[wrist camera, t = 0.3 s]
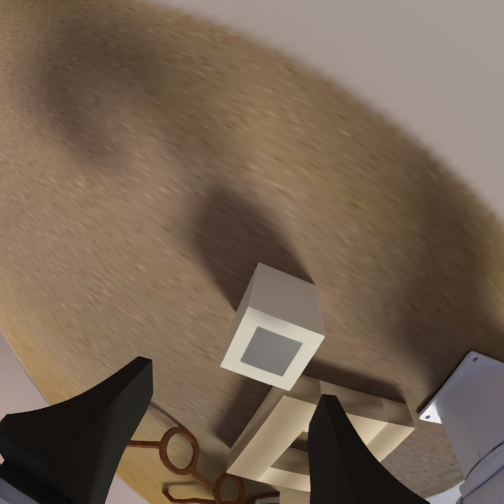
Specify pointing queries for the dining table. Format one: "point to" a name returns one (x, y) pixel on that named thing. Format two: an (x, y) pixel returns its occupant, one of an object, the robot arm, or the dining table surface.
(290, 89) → the dining table surface
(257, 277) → the connector plug
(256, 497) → the food container
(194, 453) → the glasses
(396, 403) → the holder
